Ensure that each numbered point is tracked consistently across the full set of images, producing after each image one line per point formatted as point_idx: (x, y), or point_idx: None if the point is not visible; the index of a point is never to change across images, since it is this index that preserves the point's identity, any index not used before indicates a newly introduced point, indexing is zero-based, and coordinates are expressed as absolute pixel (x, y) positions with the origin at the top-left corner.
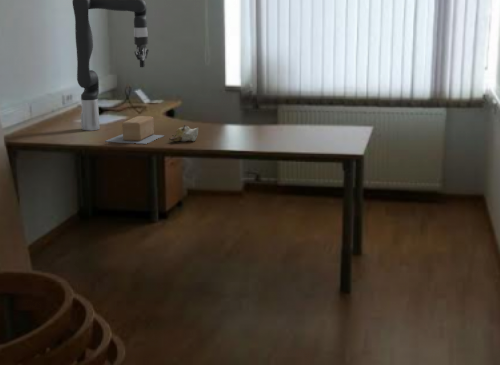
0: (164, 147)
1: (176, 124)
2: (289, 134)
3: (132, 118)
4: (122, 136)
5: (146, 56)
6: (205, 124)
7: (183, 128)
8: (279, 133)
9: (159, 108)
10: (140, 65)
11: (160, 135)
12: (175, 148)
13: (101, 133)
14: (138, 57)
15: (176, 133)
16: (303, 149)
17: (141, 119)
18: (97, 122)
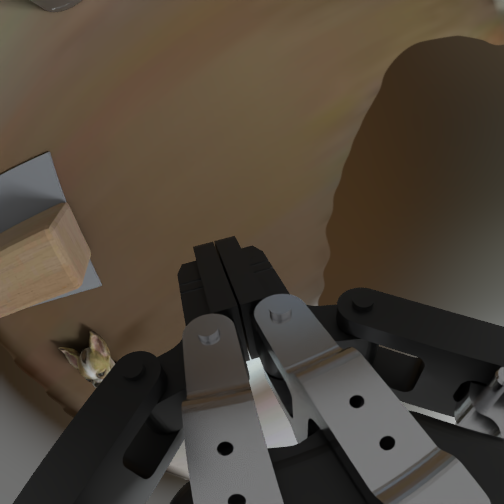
0: (28, 357)
1: (284, 189)
2: (267, 419)
3: (5, 257)
4: (10, 192)
5: (380, 372)
6: (312, 264)
7: (91, 381)
8: (269, 410)
9: (463, 18)
10: (179, 282)
11: (93, 278)
12: (41, 375)
13: (17, 76)
14: (145, 405)
15: (78, 361)
16: (182, 461)
17: (18, 295)
18: (55, 3)
